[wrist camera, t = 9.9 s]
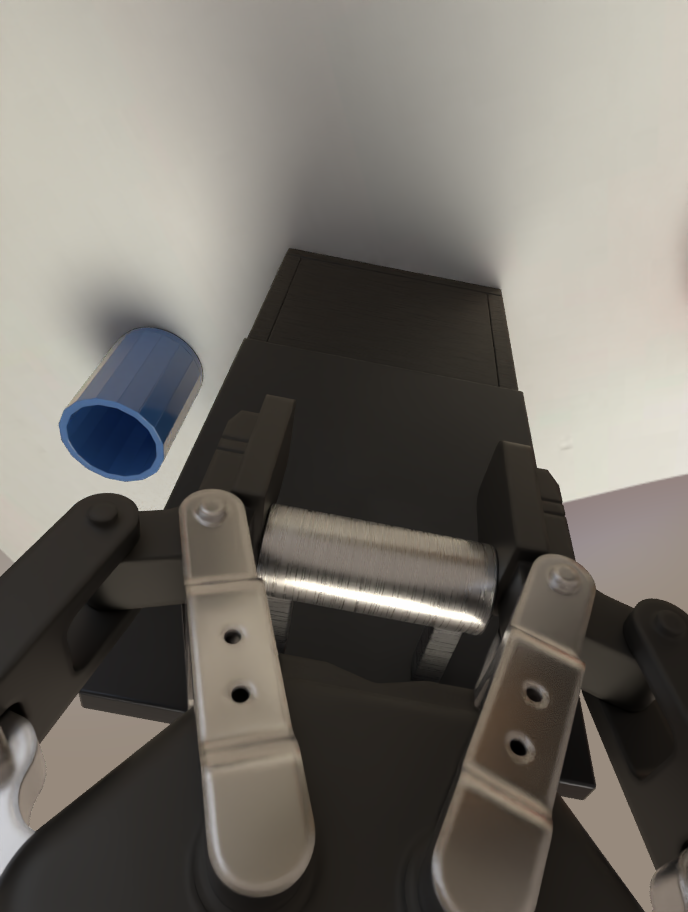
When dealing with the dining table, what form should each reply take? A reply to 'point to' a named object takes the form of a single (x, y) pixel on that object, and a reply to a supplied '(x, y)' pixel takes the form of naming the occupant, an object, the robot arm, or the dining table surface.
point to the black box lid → (355, 533)
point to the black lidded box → (388, 318)
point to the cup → (132, 405)
